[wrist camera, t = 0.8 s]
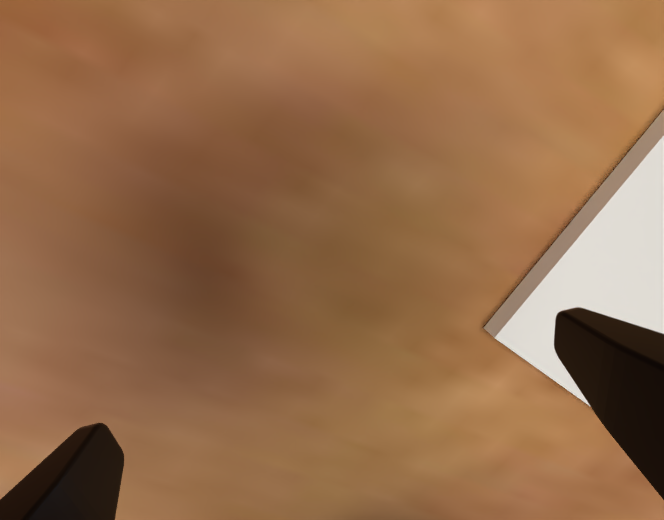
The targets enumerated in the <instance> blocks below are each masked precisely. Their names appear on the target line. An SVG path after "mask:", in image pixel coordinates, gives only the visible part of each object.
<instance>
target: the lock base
mask: <svg viewBox="0 0 664 520" xmlns="http://www.w3.org/2000/svg"><path fill="white" fill-rule="evenodd" d="M575 307H581V308H584V309H588V310H591V311H594V312H597V313H600V314H603V315H606V316H610V317H613V318H616V319H619V320H622V321H625V322H628V323H631V324H635V325H638V326H641V327H644V328H647V329H650V330H653V331H657V332H660V333H663V334H664V110H663V111H662V112H661V113H660V115H659V116H658V117H657V118H656V119H655V121H654V122H653V123H652V124H651V125H650V127H649V128H648V129H647V130H646V131H645V133H644V134H643V135H642V136H641V138H640V139H639V140H638V141H637V142H636V144H635V145H634V146H633V147H632V148H631V150H630V151H629V152H628V153H627V154H626V156H625V157H624V158H623V159H622V161H621V162H620V163H619V164H618V165H617V167H616V168H615V169H614V170H613V171H612V173H611V174H610V175H609V176H608V177H607V179H606V180H605V181H604V182H603V184H602V185H601V186H600V187H599V188H598V190H597V191H596V192H595V193H594V194H593V196H592V197H591V198H590V199H589V200H588V202H587V203H586V204H585V205H584V207H583V208H582V209H581V210H580V211H579V213H578V214H577V215H576V216H575V217H574V219H573V220H572V221H571V222H570V223H569V225H568V226H567V227H566V228H565V230H564V231H563V232H562V233H561V234H560V236H559V237H558V238H557V239H556V240H555V242H554V243H553V244H552V245H551V246H550V248H549V249H548V250H547V251H546V253H545V254H544V255H543V256H542V257H541V259H540V260H539V261H538V262H537V263H536V265H535V266H534V267H533V268H532V269H531V271H530V272H529V273H528V274H527V276H526V277H525V278H524V279H523V280H522V282H521V283H520V284H519V285H518V286H517V288H516V289H515V290H514V291H513V292H512V294H511V295H510V296H509V297H508V299H507V300H506V301H505V302H504V303H503V305H502V306H501V307H500V308H499V309H498V311H497V312H496V313H495V314H494V315H493V317H492V318H491V319H490V320H489V322H488V323H487V324H486V325H485V326H484V329H485V330H486V331H487V332H488V333H490V334H491V335H492V336H493V337H494V338H495V339H497V340H498V341H500V342H501V343H502V344H504V345H505V346H507V347H508V348H509V349H511V350H512V351H514V352H515V353H516V354H518V355H519V356H521V357H522V358H523V359H525V360H526V361H528V362H529V363H530V364H532V365H533V366H535V367H536V368H537V369H539V370H540V371H542V372H543V373H544V374H546V375H547V376H549V377H550V378H551V379H553V380H554V381H556V382H557V383H558V384H560V385H561V386H563V387H564V388H565V389H567V390H568V391H570V392H571V393H572V394H574V395H575V396H577V397H578V398H579V399H581V400H582V401H584V402H585V403H586V404H588V405H589V403H588V402H587V400H586V399H585V397H584V396H583V394H582V393H581V391H580V390H579V388H578V387H577V385H576V384H575V382H574V381H573V379H572V377H571V376H570V374H569V373H568V371H567V370H566V368H565V367H564V365H563V364H562V362H561V361H560V359H559V358H558V356H557V354H556V352H555V349H554V333H555V319H556V315H557V313H558V312H560V311H563V310H567V309H571V308H575ZM589 406H590V405H589Z"/></svg>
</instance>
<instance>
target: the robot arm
mask: <svg viewBox="0 0 664 520" xmlns="http://www.w3.org/2000/svg"><path fill="white" fill-rule="evenodd" d="M554 349H555V352H556V354H557V356H558V358H559V359H560V361H561V362H562V364H563V365H564V367H565V368H566V370H567V371H568V373H569V374H570V376H571V377H572V379H573V381H574V382H575V384H576V385H577V387H578V388H579V390H580V391H581V393H582V394H583V396H584V397H585V399H586V400H587V402H588V403H589V405H590V406H591V408H592V409H593V411H594V412H595V414H596V415H597V417H598V418H599V419H600V421H601V422H602V424H603V425H604V426H605V428H606V429H607V430H608V431H609V433H610V434H611V435H612V437H613V438H614V439H615V440H616V442H617V443H618V444H619V445H620V446H621V448H622V449H623V450H624V451H625V453H626V454H627V455H628V456H629V458H630V459H631V460H632V461H633V463H634V464H635V465H636V466H637V467H638V469H639V470H640V471H641V472H642V474H643V475H644V476H645V477H646V479H647V480H648V481H649V482H650V483H651V485H652V486H653V487H654V488H655V490H656V491H657V492H658V493H659V495H660V496H661V497H662V498H663V500H664V334H663V333H660V332H657V331H653V330H650V329H647V328H644V327H641V326H638V325H635V324H631V323H628V322H625V321H622V320H619V319H616V318H613V317H610V316H606V315H603V314H600V313H597V312H594V311H591V310H588V309H584V308H581V307H575V308H571V309H567V310H563V311H560V312H558V313H557V315H556V319H555V333H554ZM123 466H124V454H123V451H122V449H121V447H120V446H119V444H118V442H117V441H116V439H115V438H114V436H113V435H112V433H111V431H110V430H109V428H108V427H107V426H106V425H105V424H103V423H96V424H92V425H88V426H84V427H81V428H79V429H77V430H76V431H75V432H74V433H73V434H72V435H71V436H70V437H68V438H67V439H66V440H65V441H64V442H63V443H62V444H61V445H60V446H59V447H58V448H56V449H55V450H54V451H53V452H52V453H51V454H50V455H49V456H48V457H47V458H45V459H44V460H43V461H42V462H41V463H40V464H39V465H38V466H37V467H36V468H34V469H33V470H32V471H31V472H30V473H29V474H28V475H27V476H26V477H25V478H24V479H22V480H21V481H20V482H19V483H18V484H17V485H16V486H15V487H14V488H13V489H11V490H10V491H9V492H8V493H7V494H6V495H5V496H4V497H3V498H2V499H0V520H115V515H116V509H117V503H118V497H119V491H120V485H121V479H122V472H123Z"/></svg>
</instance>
